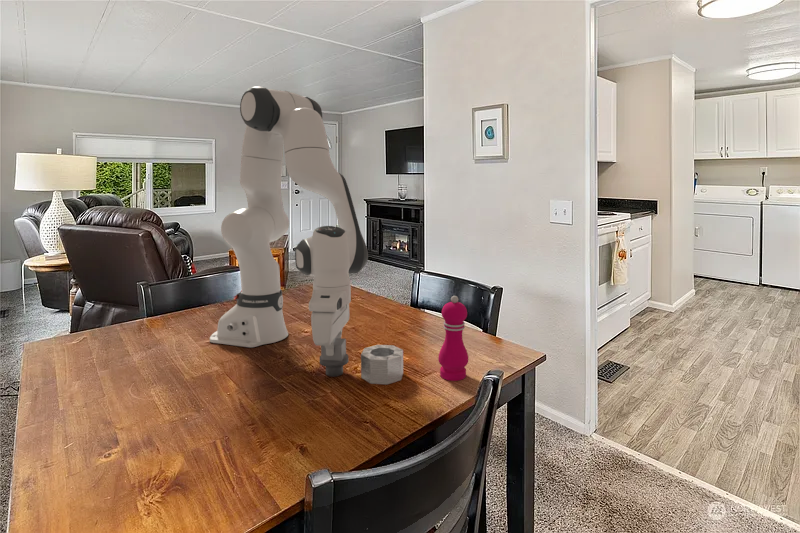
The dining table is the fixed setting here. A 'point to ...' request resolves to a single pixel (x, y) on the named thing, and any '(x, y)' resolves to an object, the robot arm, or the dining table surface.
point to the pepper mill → (453, 342)
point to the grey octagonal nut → (382, 364)
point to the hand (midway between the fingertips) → (333, 350)
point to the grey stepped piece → (335, 358)
